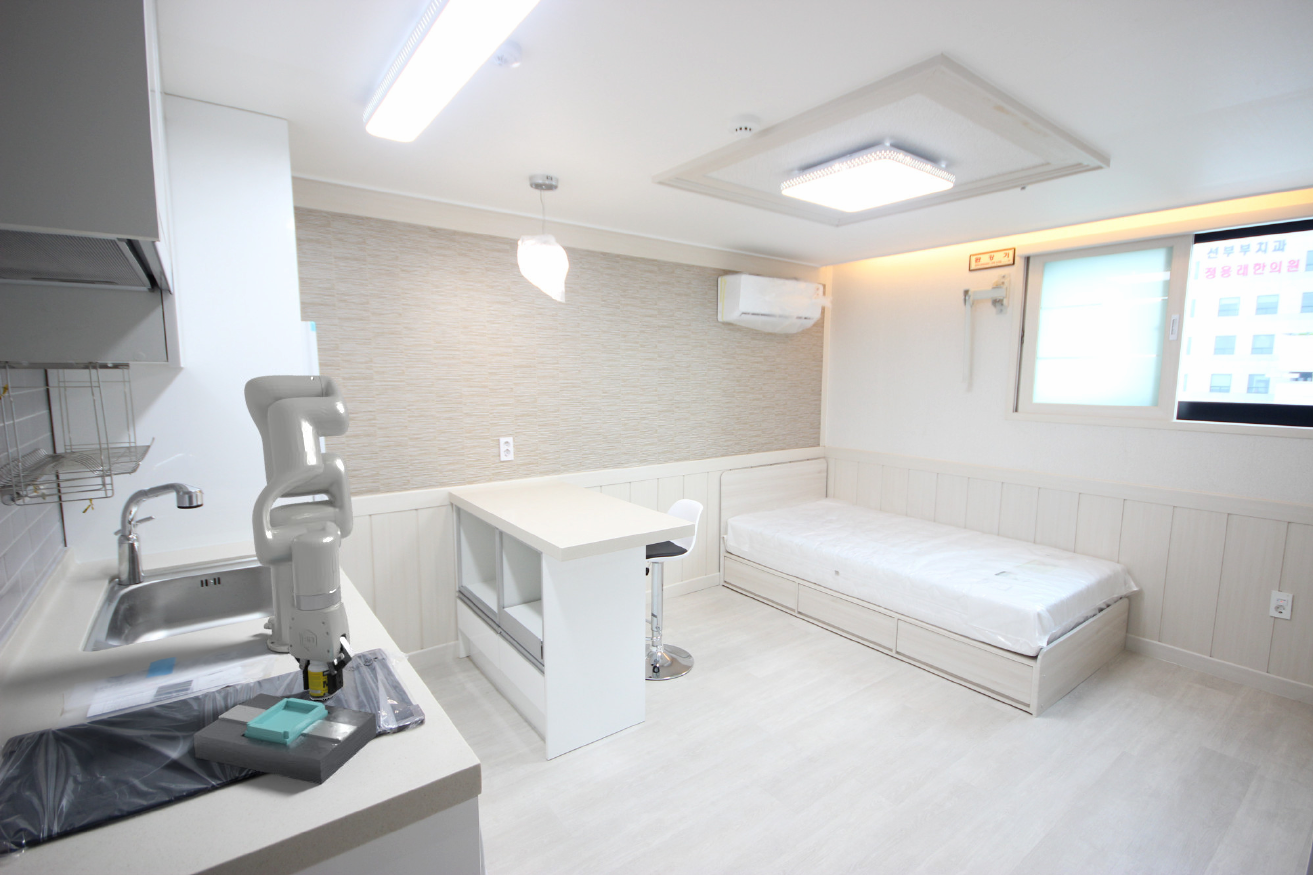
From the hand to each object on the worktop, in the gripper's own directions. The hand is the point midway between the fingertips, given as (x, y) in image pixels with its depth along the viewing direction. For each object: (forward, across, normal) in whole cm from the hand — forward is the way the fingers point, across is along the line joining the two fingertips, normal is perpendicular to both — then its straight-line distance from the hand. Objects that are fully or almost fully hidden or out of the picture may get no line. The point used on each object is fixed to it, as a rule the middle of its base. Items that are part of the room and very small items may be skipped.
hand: (323, 687), depth 111 cm
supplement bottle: (+2, 0, 0) cm, 2 cm away
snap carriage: (-1, +6, -14) cm, 15 cm away
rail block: (+1, +6, -14) cm, 15 cm away
